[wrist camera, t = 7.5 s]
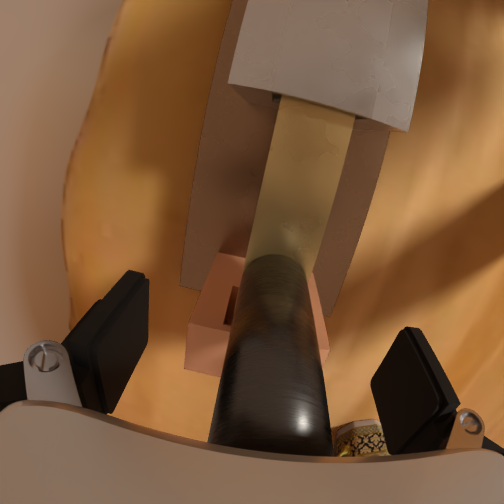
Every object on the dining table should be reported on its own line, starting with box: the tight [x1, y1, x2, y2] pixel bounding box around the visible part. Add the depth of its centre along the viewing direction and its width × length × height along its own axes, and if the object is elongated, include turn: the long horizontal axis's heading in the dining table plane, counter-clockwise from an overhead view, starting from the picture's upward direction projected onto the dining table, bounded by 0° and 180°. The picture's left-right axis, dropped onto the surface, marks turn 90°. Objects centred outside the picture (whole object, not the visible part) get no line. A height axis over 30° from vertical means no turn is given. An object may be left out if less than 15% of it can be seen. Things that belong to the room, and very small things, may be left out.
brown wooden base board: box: [180, 0, 428, 317], centre depth 15 cm, size 24×12×9 cm, turn 168°
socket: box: [184, 252, 330, 377], centre depth 18 cm, size 3×7×8 cm, turn 78°
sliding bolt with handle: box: [207, 95, 356, 457], centre depth 10 cm, size 16×3×12 cm, turn 168°
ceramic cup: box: [333, 419, 390, 457], centre depth 26 cm, size 13×10×10 cm
